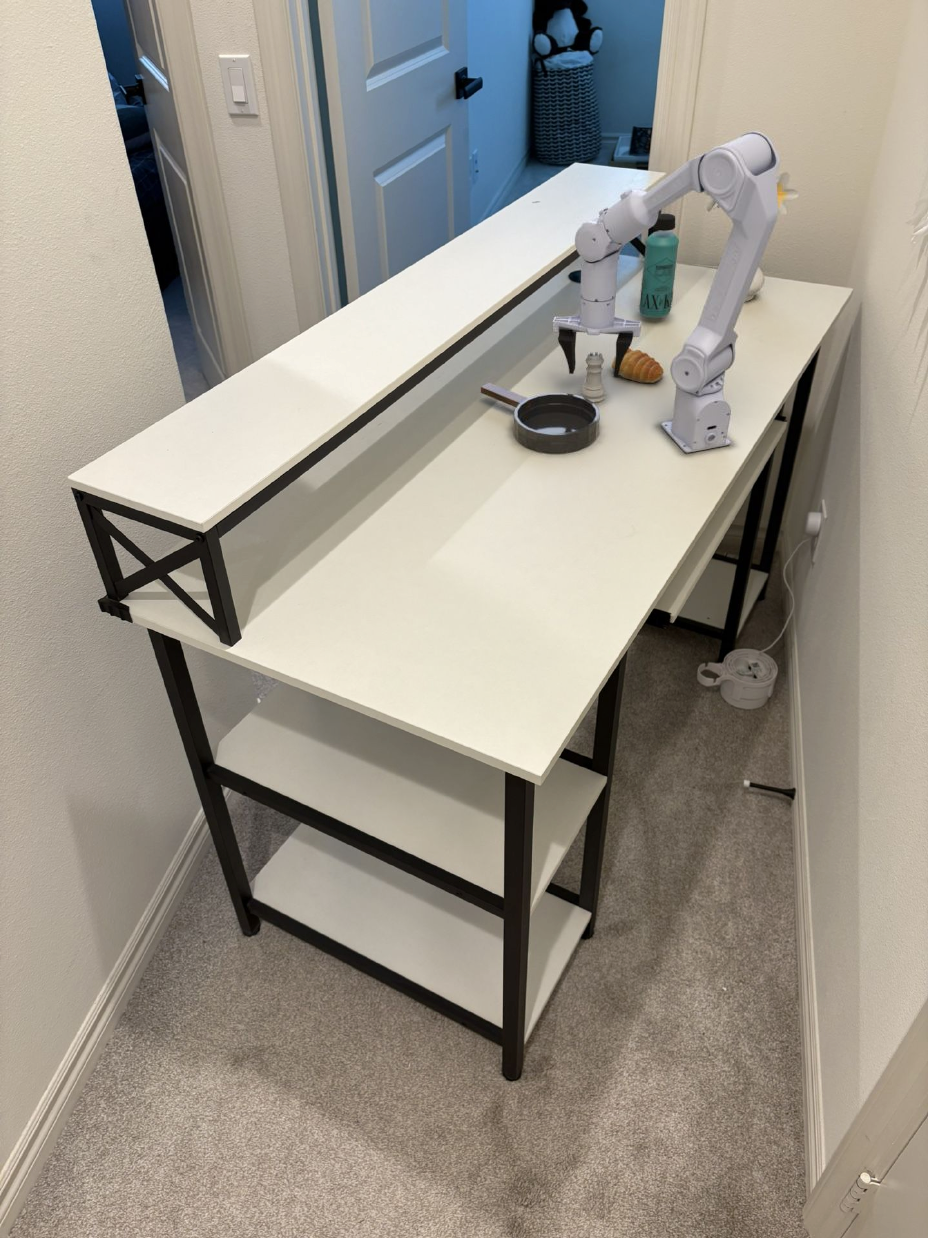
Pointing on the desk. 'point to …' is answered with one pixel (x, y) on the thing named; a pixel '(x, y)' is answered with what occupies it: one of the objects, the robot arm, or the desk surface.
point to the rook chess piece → (593, 379)
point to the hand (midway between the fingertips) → (594, 372)
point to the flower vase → (783, 195)
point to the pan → (556, 422)
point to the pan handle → (503, 395)
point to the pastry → (639, 367)
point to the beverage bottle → (659, 268)
